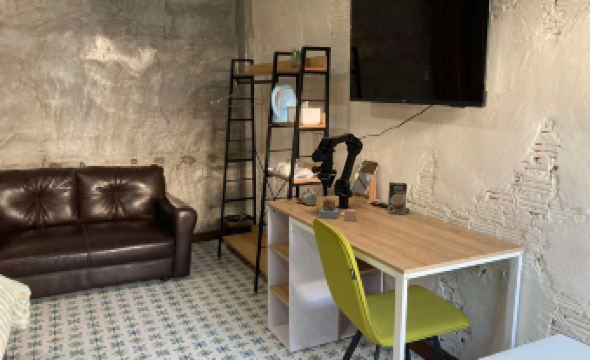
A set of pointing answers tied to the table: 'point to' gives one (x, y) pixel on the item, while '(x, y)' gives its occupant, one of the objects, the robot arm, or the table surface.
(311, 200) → the ceramic sculpture
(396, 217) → the table surface
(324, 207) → the walnut cube
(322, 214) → the grey block
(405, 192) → the coffee box
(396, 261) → the table surface
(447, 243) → the table surface
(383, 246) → the table surface
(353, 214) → the terracotta cube
